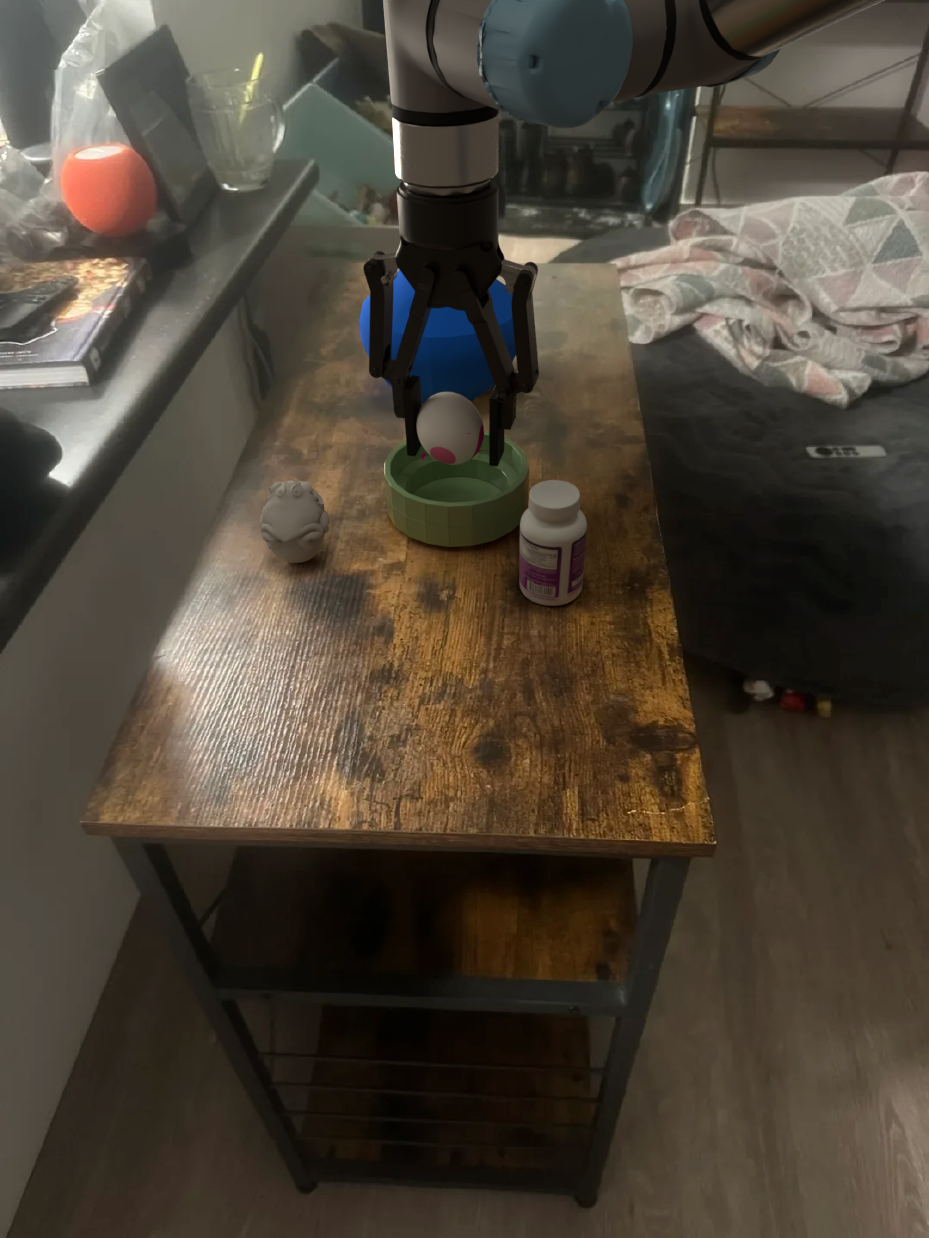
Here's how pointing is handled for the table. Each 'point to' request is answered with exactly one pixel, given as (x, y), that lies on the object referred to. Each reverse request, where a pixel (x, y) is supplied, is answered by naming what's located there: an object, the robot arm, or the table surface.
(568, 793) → the table surface
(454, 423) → the stress ball
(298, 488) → the frog figurine
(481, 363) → the vase
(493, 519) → the green bowl
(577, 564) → the pill bottle
